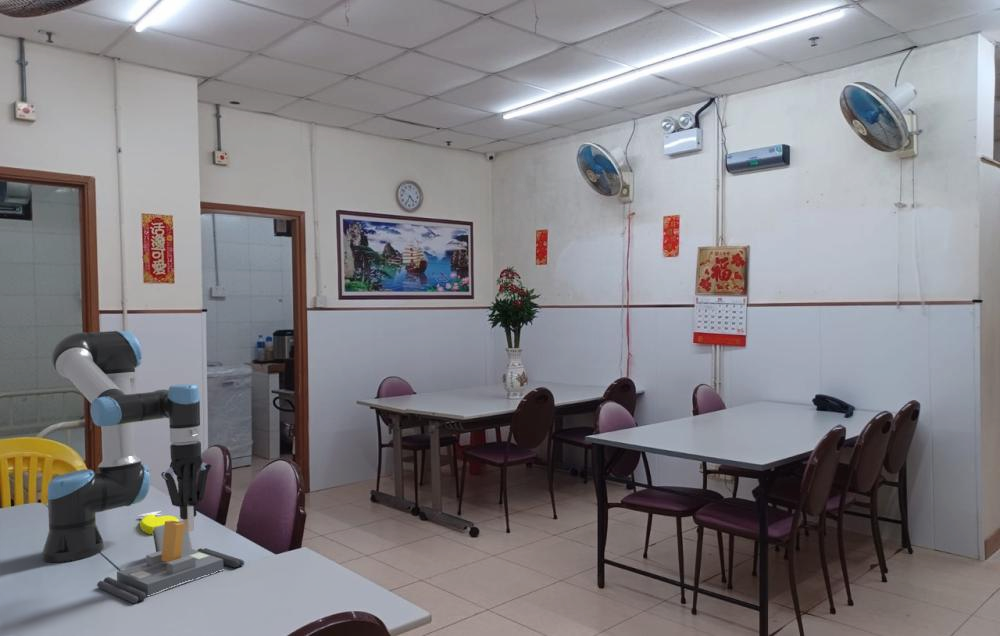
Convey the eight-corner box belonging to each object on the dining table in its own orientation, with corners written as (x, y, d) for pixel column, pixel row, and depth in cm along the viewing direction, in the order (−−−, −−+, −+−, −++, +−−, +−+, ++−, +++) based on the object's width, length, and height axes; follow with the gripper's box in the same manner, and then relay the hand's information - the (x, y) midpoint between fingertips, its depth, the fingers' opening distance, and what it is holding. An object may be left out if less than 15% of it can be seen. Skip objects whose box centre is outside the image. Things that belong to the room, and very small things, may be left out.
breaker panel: (117, 583, 177) (116, 562, 177) (191, 559, 193) (190, 540, 193) (148, 596, 167) (147, 574, 167) (223, 570, 183) (222, 550, 183)
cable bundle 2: (196, 556, 195) (196, 549, 195) (207, 553, 198) (207, 546, 198) (234, 569, 184) (234, 562, 184) (246, 565, 187) (245, 558, 187)
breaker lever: (160, 562, 181) (164, 521, 182) (167, 561, 183) (171, 520, 184) (173, 567, 177) (177, 524, 178) (180, 565, 179) (184, 523, 180)
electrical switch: (160, 561, 192) (157, 528, 193) (151, 559, 196) (149, 526, 196) (192, 552, 200) (190, 519, 200) (184, 550, 203) (181, 518, 203)
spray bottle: (147, 537, 216) (130, 522, 235) (184, 529, 223) (164, 515, 242) (147, 528, 216) (129, 513, 235) (184, 520, 223) (164, 507, 242)
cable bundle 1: (97, 588, 174) (96, 580, 174) (111, 583, 177) (111, 576, 177) (133, 605, 163) (133, 596, 163) (148, 600, 165) (147, 591, 165)
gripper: (169, 447, 177) (172, 539, 177) (216, 439, 187) (219, 525, 187) (154, 445, 181) (157, 534, 181) (200, 437, 192) (203, 521, 192)
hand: (188, 530), depth 184 cm, fingers closed
